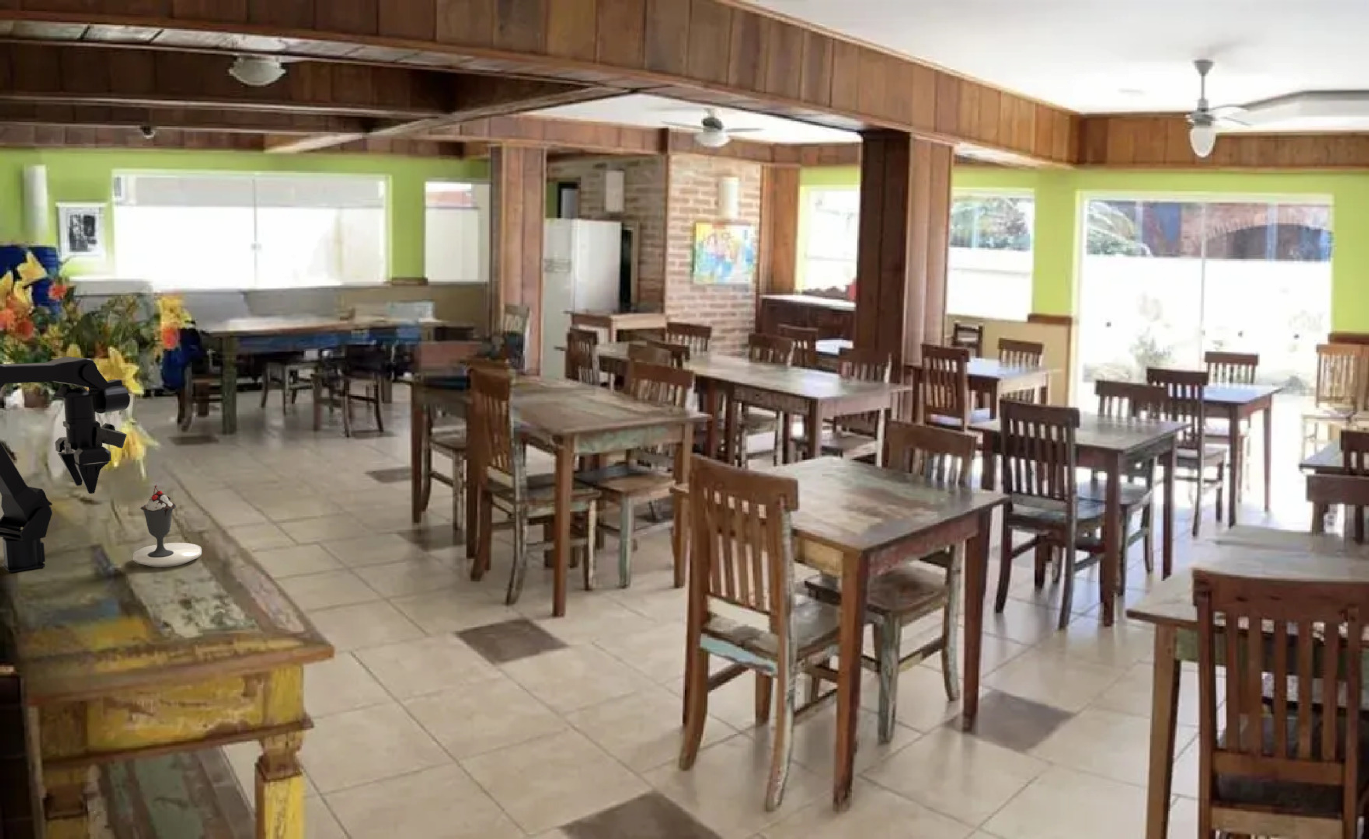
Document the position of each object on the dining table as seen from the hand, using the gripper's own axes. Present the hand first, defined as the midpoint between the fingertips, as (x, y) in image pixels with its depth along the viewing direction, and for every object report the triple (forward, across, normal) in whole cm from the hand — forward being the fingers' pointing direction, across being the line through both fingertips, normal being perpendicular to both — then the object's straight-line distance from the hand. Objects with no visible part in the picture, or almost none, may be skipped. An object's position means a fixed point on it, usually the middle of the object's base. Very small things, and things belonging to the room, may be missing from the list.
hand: (85, 489), depth 253 cm
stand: (+13, -19, -10) cm, 25 cm away
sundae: (+11, -20, -8) cm, 25 cm away
